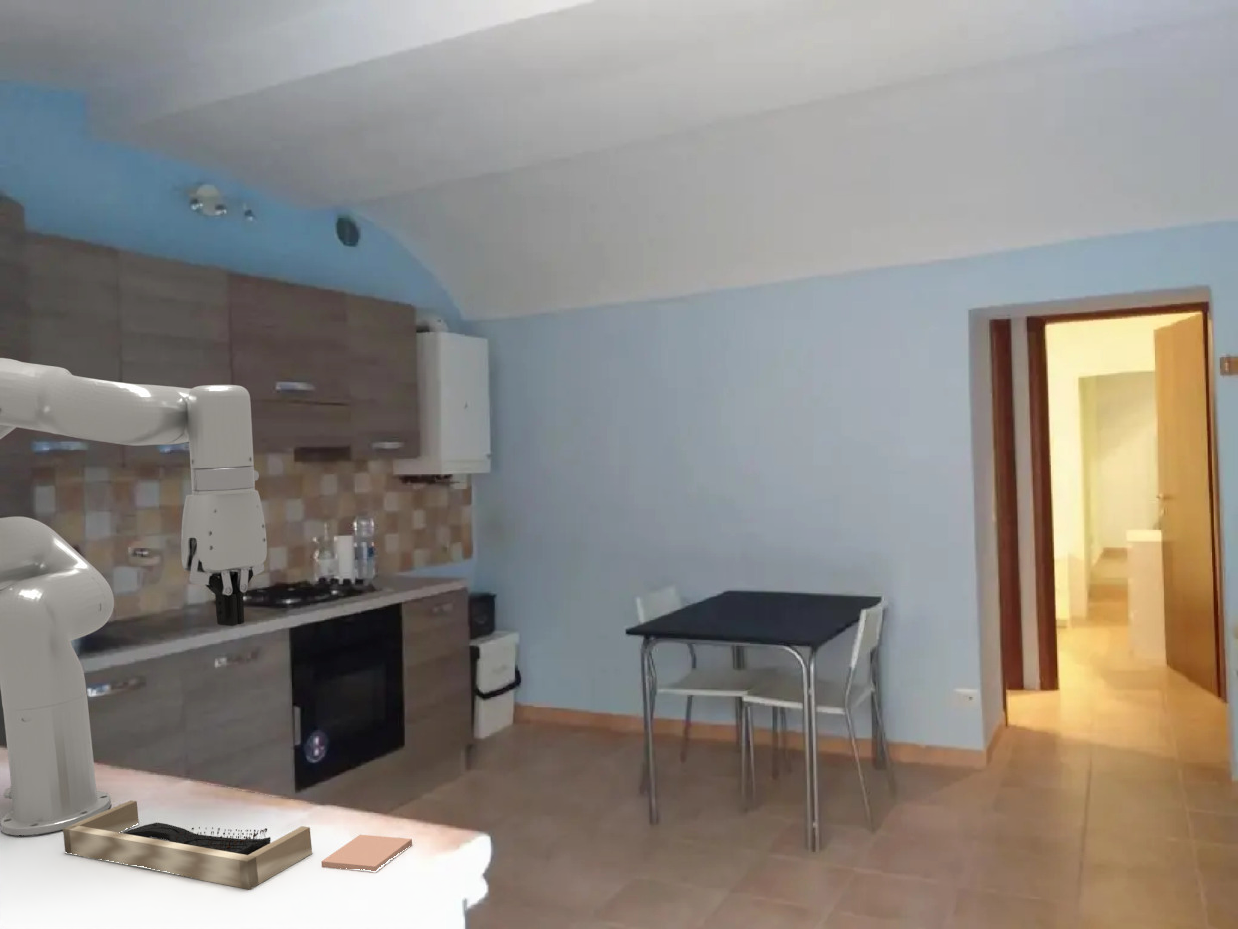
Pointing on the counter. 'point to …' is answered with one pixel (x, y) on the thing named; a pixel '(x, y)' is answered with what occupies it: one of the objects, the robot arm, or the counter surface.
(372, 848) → the terracotta tile
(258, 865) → the u-shaped wooden frame
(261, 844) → the hairbrush
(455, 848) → the counter surface
